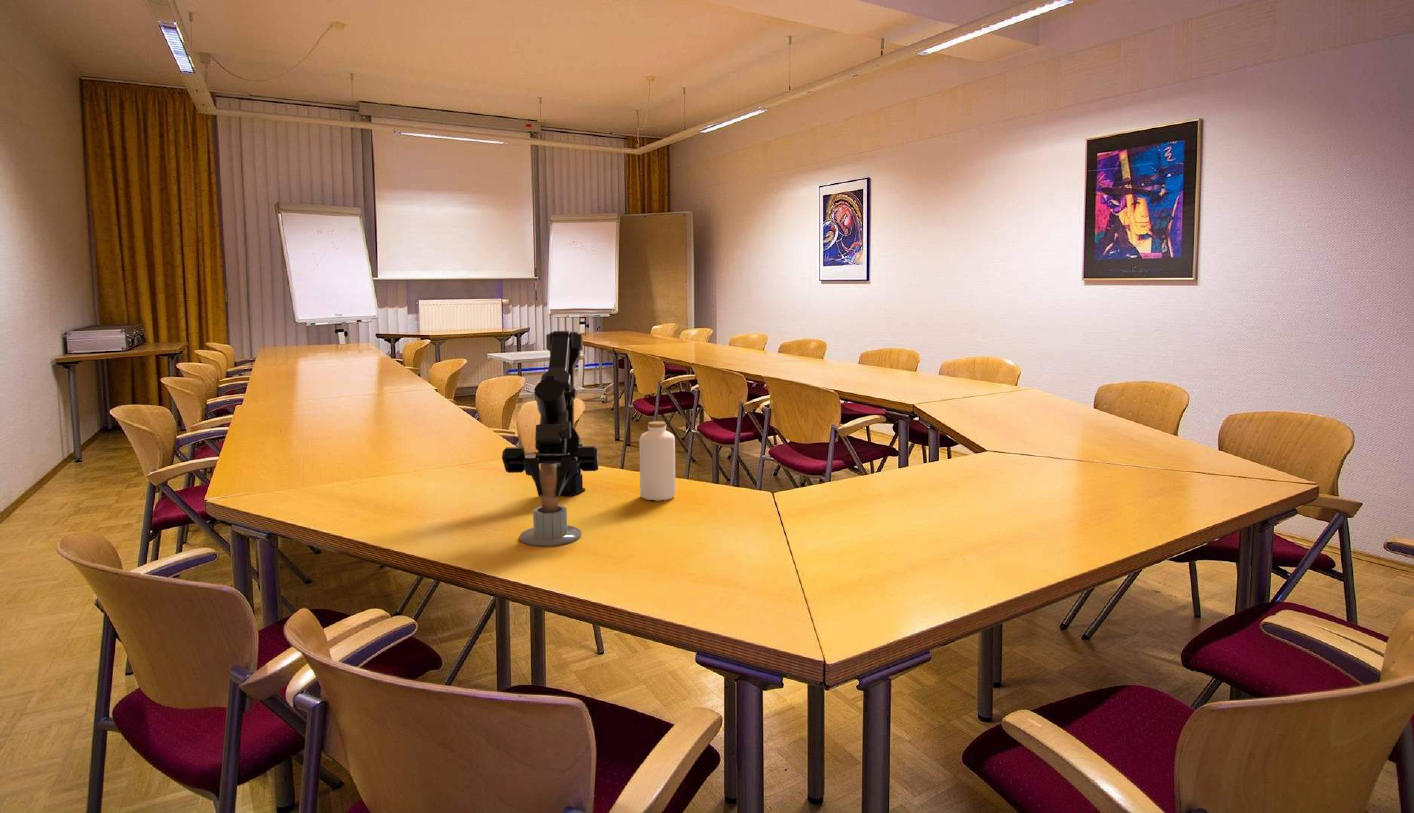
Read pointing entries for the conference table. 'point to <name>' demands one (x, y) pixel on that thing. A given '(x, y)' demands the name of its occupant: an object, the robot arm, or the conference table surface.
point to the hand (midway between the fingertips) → (548, 495)
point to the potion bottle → (657, 463)
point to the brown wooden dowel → (549, 487)
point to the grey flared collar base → (550, 529)
